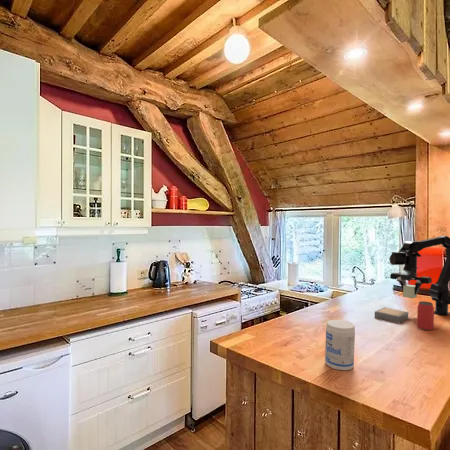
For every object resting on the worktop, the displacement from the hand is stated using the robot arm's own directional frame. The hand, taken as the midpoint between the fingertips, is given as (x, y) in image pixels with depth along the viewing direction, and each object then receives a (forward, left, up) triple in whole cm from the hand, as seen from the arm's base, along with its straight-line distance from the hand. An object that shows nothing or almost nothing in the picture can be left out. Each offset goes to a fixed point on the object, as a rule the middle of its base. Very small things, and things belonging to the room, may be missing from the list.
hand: (409, 293), depth 174 cm
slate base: (+14, -4, -11) cm, 18 cm away
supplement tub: (+84, +6, -11) cm, 85 cm away
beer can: (+19, +13, -11) cm, 26 cm away
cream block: (0, 0, -2) cm, 2 cm away
